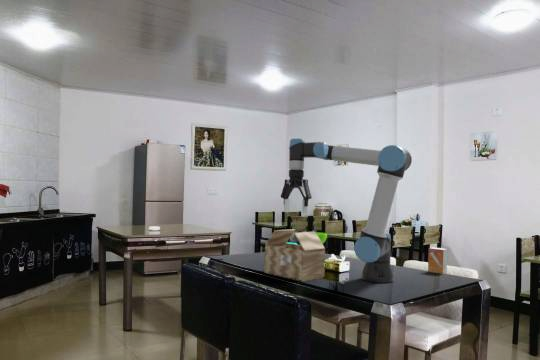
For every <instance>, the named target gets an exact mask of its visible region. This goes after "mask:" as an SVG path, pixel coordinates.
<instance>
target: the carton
mask: <svg viewBox="0 0 540 360" xmlns="http://www.w3.org/2000/svg"><path fill="white" fill-rule="evenodd" d="M325 255H326V248H325V249H317V250H309V251H304V250H303V248H302V246H301V244H298V245H296V244H289V243H283V244H272V245H265V246H264V273H265V274H269V275H272V274H273V275H272V276H277V275H278V276H277V277H282V278H286V277H287V278H286V279H291V278H292V279H291V280H295V279H296V280H295V281H300V280H301V281H300V282H306V281H311V280H316V279H321V278H325V271H326V270H325V264H326V262H325V261H326V256H325Z"/></svg>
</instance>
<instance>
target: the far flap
mask: <svg viewBox="0 0 540 360" xmlns="http://www.w3.org/2000/svg"><path fill="white" fill-rule="evenodd" d="M295 231H296V228H295V229H294V228H292V229H277V230H275V229H274V230H273V232H272V233H271V235H270V237H269V238H268V240H267V241H266V243H265V245H272V244H283V243H287V242H289V240H290V239H291V237H292V235H293V234H294V233H295Z"/></svg>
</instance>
